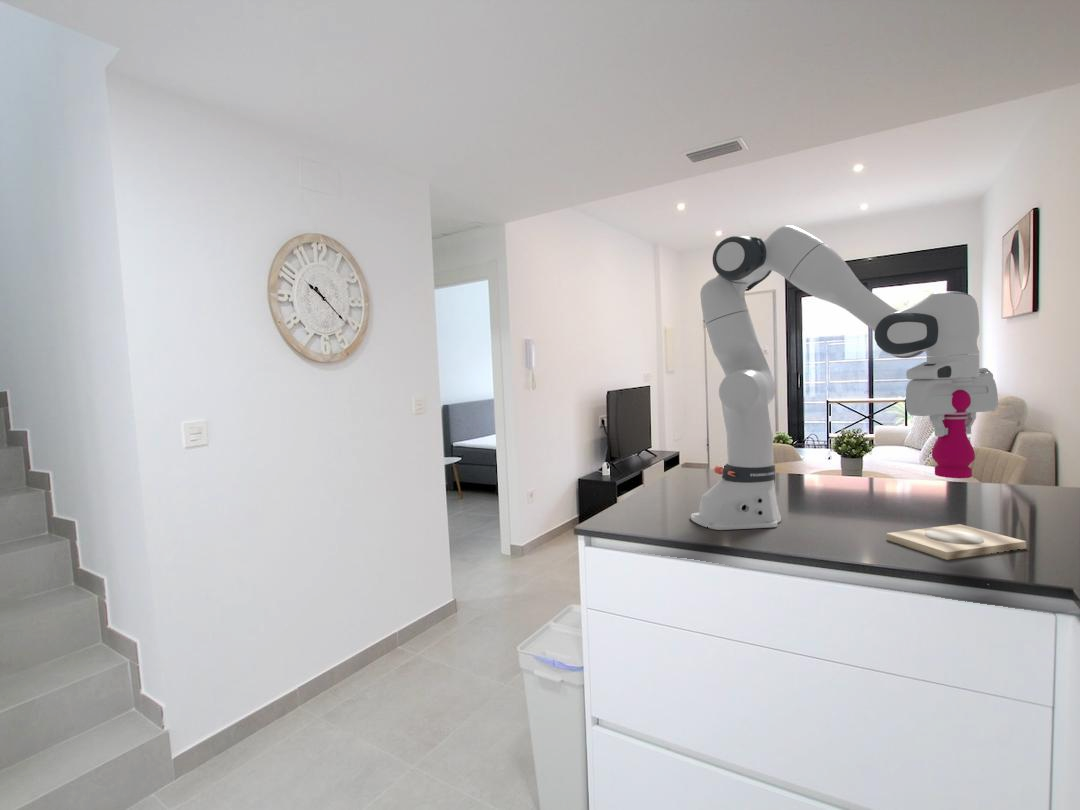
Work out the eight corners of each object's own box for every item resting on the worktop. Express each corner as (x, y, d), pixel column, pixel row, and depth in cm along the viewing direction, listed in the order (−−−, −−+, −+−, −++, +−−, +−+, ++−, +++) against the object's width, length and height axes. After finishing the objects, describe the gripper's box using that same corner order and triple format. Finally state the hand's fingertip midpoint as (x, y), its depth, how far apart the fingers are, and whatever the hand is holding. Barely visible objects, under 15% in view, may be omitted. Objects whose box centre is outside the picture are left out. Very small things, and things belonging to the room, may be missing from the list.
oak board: (946, 559, 107) (946, 551, 107) (886, 539, 121) (886, 532, 121) (1026, 548, 111) (1026, 540, 111) (959, 530, 125) (959, 523, 125)
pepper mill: (982, 479, 111) (982, 380, 110) (942, 478, 113) (941, 381, 112) (963, 472, 118) (963, 380, 117) (925, 472, 120) (924, 381, 119)
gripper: (976, 367, 120) (977, 430, 120) (899, 371, 115) (900, 437, 116) (1007, 367, 113) (1007, 433, 114) (926, 370, 109) (927, 440, 110)
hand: (952, 435), depth 115 cm, fingers closed on pepper mill, 5 cm apart
